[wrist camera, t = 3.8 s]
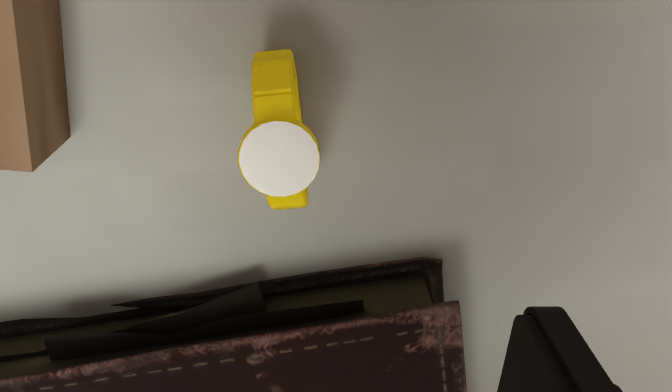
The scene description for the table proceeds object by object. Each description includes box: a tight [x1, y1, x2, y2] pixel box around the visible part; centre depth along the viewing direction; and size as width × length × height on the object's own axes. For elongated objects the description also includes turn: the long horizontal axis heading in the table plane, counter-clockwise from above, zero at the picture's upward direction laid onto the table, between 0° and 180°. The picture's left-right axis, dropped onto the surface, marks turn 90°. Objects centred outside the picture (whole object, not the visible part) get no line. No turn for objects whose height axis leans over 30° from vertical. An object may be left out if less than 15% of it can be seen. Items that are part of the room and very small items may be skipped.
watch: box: [238, 49, 320, 210], centre depth 22 cm, size 6×3×6 cm, turn 5°
